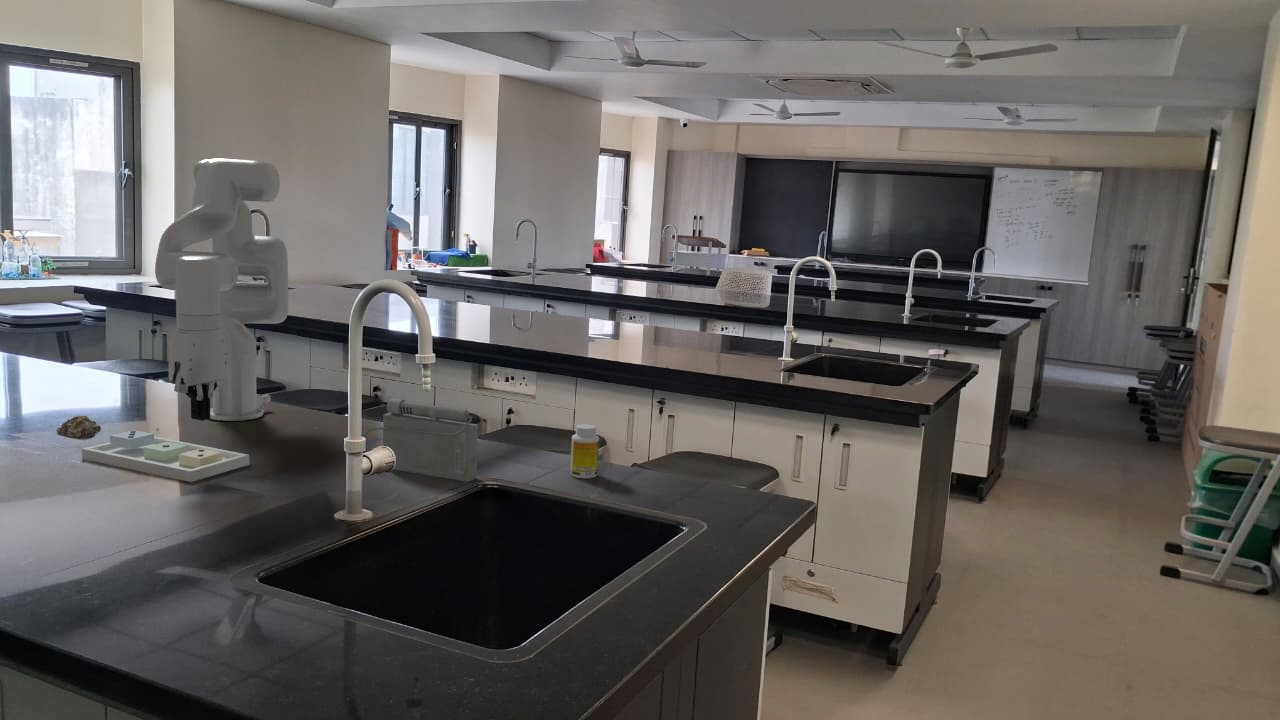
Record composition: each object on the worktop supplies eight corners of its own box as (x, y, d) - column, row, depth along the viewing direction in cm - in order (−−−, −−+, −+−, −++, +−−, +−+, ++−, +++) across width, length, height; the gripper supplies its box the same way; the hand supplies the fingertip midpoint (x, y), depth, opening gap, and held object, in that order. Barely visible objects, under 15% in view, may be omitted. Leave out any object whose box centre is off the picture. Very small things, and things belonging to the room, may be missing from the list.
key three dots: (134, 439, 190) (134, 429, 190) (154, 443, 189) (153, 433, 188) (110, 445, 186) (110, 434, 185) (130, 449, 184) (130, 438, 183)
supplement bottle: (601, 479, 190) (603, 429, 188) (574, 480, 188) (576, 429, 186) (592, 471, 195) (595, 422, 193) (566, 472, 193) (568, 423, 191)
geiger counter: (482, 407, 184) (372, 392, 192) (466, 413, 178) (353, 397, 186) (480, 477, 186) (371, 459, 194) (463, 485, 180) (352, 466, 188)
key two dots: (201, 458, 184) (201, 447, 184) (222, 462, 182) (222, 451, 182) (178, 464, 179) (178, 453, 179) (200, 468, 177) (200, 457, 177)
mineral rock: (50, 419, 202) (91, 406, 207) (57, 438, 204) (97, 424, 208) (59, 432, 194) (101, 418, 199) (66, 451, 196) (108, 437, 200)
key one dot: (167, 451, 187) (167, 440, 187) (187, 455, 185) (187, 444, 185) (144, 457, 182) (143, 446, 182) (164, 461, 180) (164, 450, 180)
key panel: (144, 443, 196) (144, 434, 195) (249, 464, 185) (249, 454, 185) (82, 458, 183) (81, 448, 182) (190, 482, 172) (190, 471, 172)
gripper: (215, 316, 185) (216, 408, 188) (149, 325, 171) (152, 423, 174) (245, 321, 182) (246, 414, 185) (180, 329, 168) (183, 430, 171)
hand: (200, 418), depth 180 cm, fingers closed
